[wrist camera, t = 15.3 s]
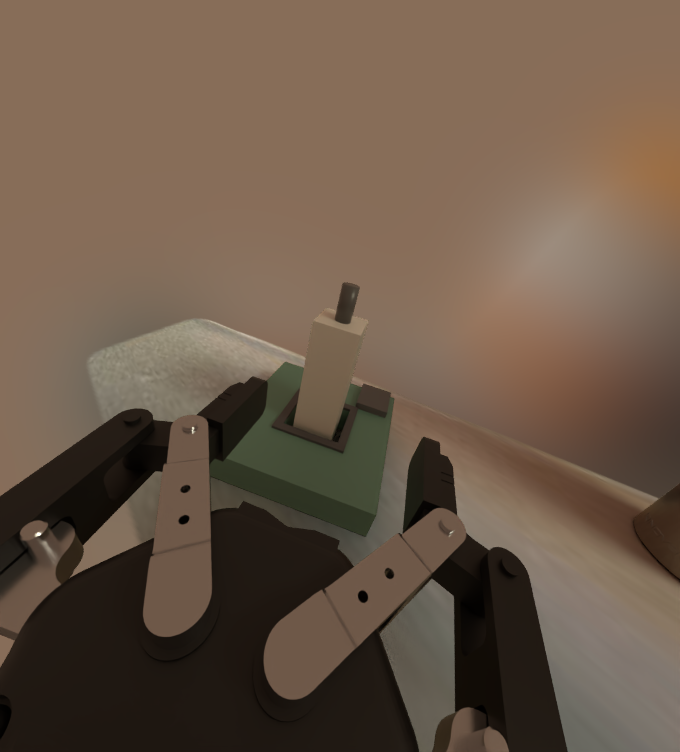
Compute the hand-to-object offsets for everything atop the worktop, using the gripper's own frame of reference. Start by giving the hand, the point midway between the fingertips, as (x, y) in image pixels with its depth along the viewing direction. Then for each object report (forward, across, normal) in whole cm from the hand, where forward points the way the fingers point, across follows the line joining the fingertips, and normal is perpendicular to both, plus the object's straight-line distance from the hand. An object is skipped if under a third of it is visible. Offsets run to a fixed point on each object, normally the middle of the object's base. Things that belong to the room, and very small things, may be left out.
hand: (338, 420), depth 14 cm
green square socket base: (+12, +3, +14) cm, 18 cm away
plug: (+12, +3, +14) cm, 18 cm away
